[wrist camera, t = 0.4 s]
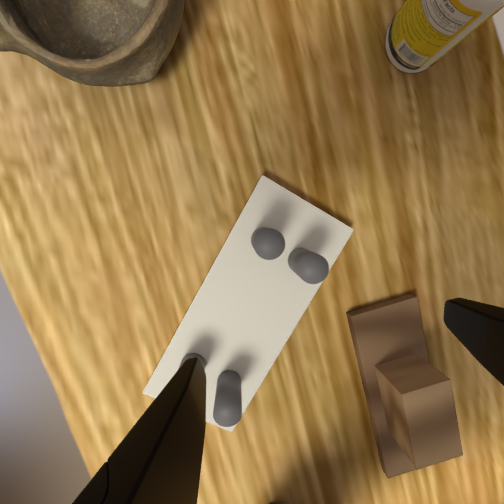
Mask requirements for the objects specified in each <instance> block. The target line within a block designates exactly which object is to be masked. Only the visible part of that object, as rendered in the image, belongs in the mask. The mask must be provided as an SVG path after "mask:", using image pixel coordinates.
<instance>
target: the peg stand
mask: <svg viewBox="0 0 504 504" xmlns="http://www.w3.org/2000/svg"><path fill="white" fill-rule="evenodd" d="M353 230H354V229H352V228H350V227H349V226H347V225H345V224H344V223H342V222H340V221H339V220H337V219H335V218H334V217H332V216H330V215H329V214H327V213H325V212H324V211H322V210H320V209H319V208H317V207H315V206H314V205H312V204H310V203H309V202H307V201H305V200H303V199H302V198H300V197H298V196H297V195H295V194H293V193H292V192H290V191H288V190H287V189H285V188H283V187H282V186H280V185H278V184H277V183H275V182H273V181H272V180H270V179H268V178H267V177H265V176H263V175H262V177H261V178H260V180H259V182H258V184H257V186H256V187H255V189H254V191H253V193H252V195H251V197H250V198H249V200H248V202H247V204H246V206H245V207H244V209H243V211H242V213H241V215H240V217H239V218H238V220H237V222H236V224H235V226H234V227H233V229H232V231H231V233H230V235H229V237H228V238H227V240H226V242H225V244H224V246H223V247H222V249H221V251H220V253H219V255H218V257H217V258H216V260H215V262H214V264H213V266H212V267H211V269H210V271H209V273H208V275H207V277H206V278H205V280H204V282H203V284H202V286H201V287H200V289H199V291H198V293H197V295H196V297H195V298H194V300H193V302H192V304H191V306H190V307H189V309H188V311H187V313H186V315H185V317H184V318H183V320H182V322H181V324H180V326H179V327H178V329H177V331H176V333H175V335H174V337H173V338H172V340H171V342H170V344H169V346H168V347H167V349H166V351H165V353H164V355H163V357H162V358H161V360H160V362H159V364H158V366H157V367H156V369H155V371H154V373H153V375H152V377H151V378H150V380H149V382H148V384H147V386H146V387H145V389H144V391H143V394H145V395H148V396H150V397H152V398H154V399H156V397H157V396H158V395H159V393H160V392H161V391H162V390H163V388H164V387H165V386H166V385H167V383H168V382H169V381H170V380H171V378H172V377H173V376H174V374H175V373H176V372H177V371H178V369H179V368H180V367H181V366H182V364H183V363H184V362H185V361H186V359H188V358H192V357H196V356H197V357H199V358H200V360H201V363H202V365H203V368H204V371H205V373H206V421H207V422H209V423H211V424H214V425H216V426H218V427H220V428H223V429H225V430H227V431H230V432H232V431H233V429H234V428H235V426H236V424H237V423H238V422H239V421H240V419H241V417H242V414H243V413H244V411H245V409H246V408H247V406H248V404H249V403H250V401H251V399H252V398H253V396H254V394H255V393H256V391H257V390H258V388H259V386H260V385H261V383H262V381H263V380H264V378H265V376H266V375H267V373H268V371H269V370H270V368H271V366H272V365H273V363H274V361H275V360H276V358H277V356H278V355H279V353H280V351H281V350H282V348H283V346H284V345H285V343H286V341H287V340H288V338H289V336H290V335H291V333H292V332H293V330H294V328H295V327H296V325H297V323H298V322H299V320H300V318H301V317H302V315H303V313H304V312H305V310H306V308H307V307H308V305H309V303H310V302H311V300H312V298H313V297H314V295H315V293H316V292H317V290H318V288H319V287H320V285H321V283H322V282H323V280H324V279H325V278H326V277H327V275H328V272H329V270H330V269H331V267H332V265H333V264H334V262H335V260H336V259H337V257H338V255H339V254H340V252H341V250H342V249H343V247H344V245H345V244H346V242H347V240H348V239H349V237H350V235H351V234H352V232H353Z"/></svg>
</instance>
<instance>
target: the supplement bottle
mask: <svg viewBox="0 0 504 504" xmlns="http://www.w3.org/2000/svg"><path fill="white" fill-rule="evenodd" d="M503 7H504V0H406V1H405V3H404V4H403V6H402V7H401V8H400V10H399V11H398V12H397V14H396V15H395V17H394V18H393V19H392V21H391V23H390V25H389V27H388V30H387V34H386V41H385V44H386V51H387V55H388V57H389V59H390V61H391V62H392V64H393V65H394V66H395V67H396V68H398V69H399V70H401V71H403V72H407V73H417V72H421V71H423V70H425V69H427V68H429V67H430V66H432V65H433V64H434V63H436V62H437V61H438V60H439V59H441V58H442V57H443V56H444V55H445V54H447V53H448V52H449V51H450V50H452V49H453V48H454V47H455V46H456V45H458V44H459V43H460V42H461V41H463V40H464V39H465V38H466V37H467V36H469V35H470V34H471V33H472V32H473V31H475V30H476V29H477V28H478V27H480V26H481V25H482V24H483V23H484V22H486V21H487V20H488V19H489V18H491V17H492V16H493V15H494V14H495V13H497V12H498V11H499V10H500V9H502V8H503Z"/></svg>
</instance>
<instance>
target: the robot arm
mask: <svg viewBox="0 0 504 504" xmlns="http://www.w3.org/2000/svg"><path fill="white" fill-rule="evenodd" d="M444 322H445V324H446V326H447V327H448V328H449V329H450V331H451V332H452V333H453V334H454V335H455V336H456V337H457V338H458V339H459V340H460V342H461V343H462V344H463V345H464V346H465V347H466V348H467V349H468V350H469V352H470V353H471V354H472V355H473V356H474V357H475V358H476V359H477V360H478V361H479V362H480V363H481V364H482V365H483V366H484V367H485V368H486V369H487V370H488V371H489V372H490V373H491V374H492V375H493V376H494V377H495V378H496V379H497V380H498V381H499V382H500V383H501V384H502V385H504V308H501V307H497V306H493V305H489V304H484V303H480V302H476V301H472V300H467V299H463V298H454V299H450V300H447V301H446V302H445V307H444ZM205 426H206V373H205V371H204V368H203V365H202V363H201V360H200V358H199V357H197V356H196V357H192V358H188V359H186V361H185V362H184V363H183V364H182V366H181V367H180V368H179V369H178V371H177V372H176V373H175V374H174V376H173V377H172V378H171V380H170V381H169V382H168V383H167V385H166V386H165V387H164V388H163V390H162V391H161V392H160V393H159V395H158V396H157V397H156V399H155V400H154V401H153V402H152V404H151V405H150V406H149V407H148V409H147V410H146V411H145V412H144V414H143V415H142V416H141V418H140V419H139V420H138V421H137V423H136V424H135V425H134V426H133V428H132V429H131V430H130V431H129V433H128V434H127V435H126V437H125V438H124V439H123V440H122V442H121V443H120V444H119V445H118V447H117V448H116V449H115V450H114V452H113V453H112V454H111V456H110V457H109V458H108V462H105V463H104V464H103V466H102V467H101V468H100V469H99V471H98V472H97V473H96V474H95V476H94V477H93V478H92V479H91V481H90V482H89V483H88V484H87V486H86V487H85V488H84V489H83V490H82V492H81V493H80V494H79V495H78V497H77V498H76V499H75V500H74V502H73V503H72V504H197V497H198V488H199V480H200V471H201V462H202V454H203V445H204V437H205Z"/></svg>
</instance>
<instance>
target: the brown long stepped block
mask: <svg viewBox="0 0 504 504" xmlns="http://www.w3.org/2000/svg"><path fill="white" fill-rule="evenodd" d="M346 314H347V318H348V323H349V327H350V331H351V335H352V340H353V344H354V348H355V353H356V357H357V361H358V366H359V370H360V374H361V379H362V383H363V387H364V392H365V396H366V400H367V405H368V409H369V413H370V418H371V422H372V426H373V431H374V435H375V439H376V444H377V448H378V452H379V457H380V461H381V465H382V469H383V471H384V473H385V474H386V476H387V478H391V477H394V476H397V475H400V474H404V473H407V472H410V471H413V470H416V469H417V470H418V469H421V468H424V467H427V466H430V465H433V464H437V463H440V462H443V461H446V460H449V459H452V458H455V457H459V456H462V455H463V452H462V446H461V440H460V434H459V428H458V422H457V416H456V410H455V404H454V398H453V392H452V386H451V380H450V379H449V378H448V377H446V376H445V375H444V374H442V373H441V372H440V371H438V370H437V369H436V368H434V367H433V366H432V365H430V364H429V360H428V354H427V349H426V343H425V337H424V332H423V326H422V321H421V315H420V310H419V304H418V298H417V297H416V296H414V295H412V294H407V295H404V296H401V297H397V298H394V299H390V300H387V301H384V302H380V303H377V304H373V305H370V306H367V307H363V308H360V309H357V310H353V311H350V312H346Z"/></svg>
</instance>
